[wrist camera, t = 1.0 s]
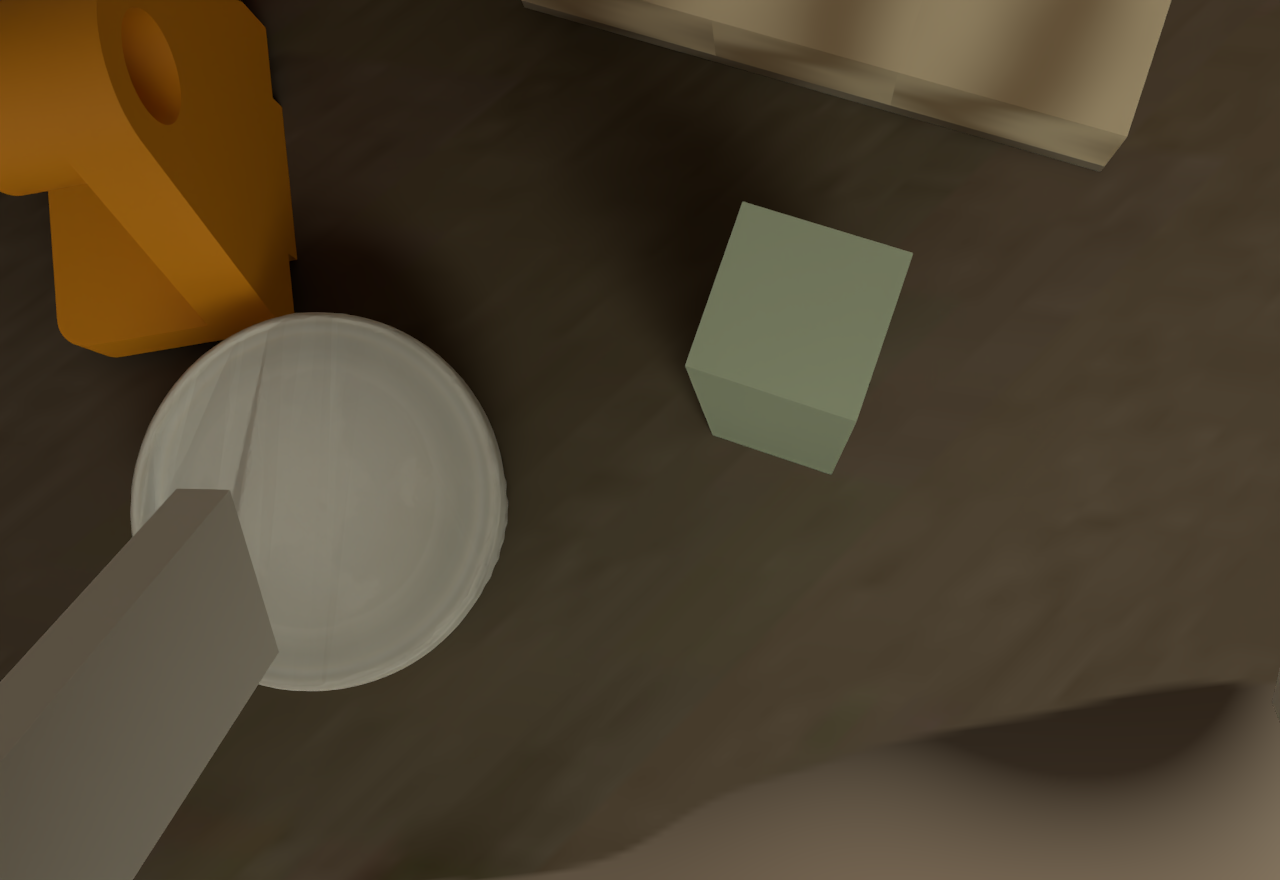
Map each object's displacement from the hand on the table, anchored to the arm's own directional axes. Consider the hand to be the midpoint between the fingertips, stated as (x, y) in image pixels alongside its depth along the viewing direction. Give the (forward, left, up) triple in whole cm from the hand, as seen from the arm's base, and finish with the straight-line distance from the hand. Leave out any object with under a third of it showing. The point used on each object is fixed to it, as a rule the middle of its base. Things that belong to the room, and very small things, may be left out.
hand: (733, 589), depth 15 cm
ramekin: (-13, -2, -24) cm, 27 cm away
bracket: (-23, +6, -24) cm, 34 cm away
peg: (-1, +6, -23) cm, 24 cm away
